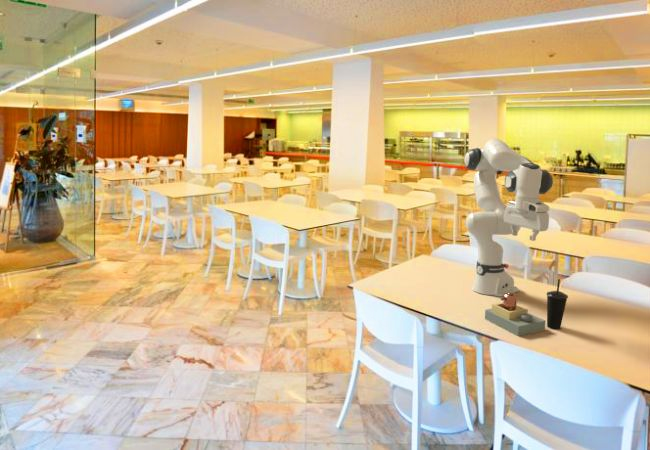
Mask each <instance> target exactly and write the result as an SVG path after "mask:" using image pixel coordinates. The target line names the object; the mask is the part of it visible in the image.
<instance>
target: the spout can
mask: <svg viewBox="0 0 650 450" xmlns="http://www.w3.org/2000/svg"><path fill="white" fill-rule="evenodd" d="M517 300H518V294H516V293H511V292H508V293H504V296H502V297H500V301H502V303H503V308H504V309H506V310H508V311H514V310H516V304H517V302H518V301H517ZM517 305H518V304H517Z"/></svg>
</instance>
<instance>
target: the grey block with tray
mask: <svg viewBox="0 0 650 450" xmlns="http://www.w3.org/2000/svg"><path fill="white" fill-rule="evenodd" d="M484 320H486V321H488V322H489V323H492V324H493V325H496V326H498V327H499V328H502V329H504V330H505V331H506V332H507V331H508V332H510V333H511V334H513V335H515V336H517V337H519V336H525V335H529V334H534V333H539V332H542V331H546V323H547V320H544V319H542V318H540V317H538V316H536V315H534V314H531V313H529V312H528V308H526V307H525V306H522V305H519V304H516V310H514V311H508V310H506V309H504V308H503V302H498V303H494V304H491V308H488V309H485V311H484Z"/></svg>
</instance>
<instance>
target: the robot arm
mask: <svg viewBox="0 0 650 450" xmlns="http://www.w3.org/2000/svg"><path fill="white" fill-rule="evenodd" d="M464 166H465V168H466V170H467V169H468V170H470V171H477V172H475V173H474V176H473V189H474V195H475V201H476V204H477V206H478V208H479V209H481V210H483V211H475V212H472V213H469V214H468V215H467V216H466V219H465V228H466V230H467V232H468V233H470V234H471V235H472V236H473V237H474V239H475V240H476V243H477V247H478V254H477V255H478V258H477V261H476V272H475V277H474V282H473V284H472V288H471V289H472V291H474V292H475V293H478V294H482V295H487V296H495V297H500V298H501V297H504V293H508V292H511V293H514V294H516V293H518V292H520V289H519V287H517V286H515V279H514V278H513V276H511V275H510V274H509V273H508V272H507V271H505V269H508V268H509V264H507V263H503V257H504V256H503V255H504V248H503V246H502V244H500V243H498V242H497V241H494V240H493V236H495V235H496V236H497V235H498V236H507V235H508V236H509V235H512V236H518V233H519V231H520V229H521V228H526V229H529V230H532V231H531V232H532V234H531V235H529V241H532V242H533V241H536V240H537V236H538V235H539V233H540V232H547V230H548V229H549V223H550V215H549V213H548V212H549V211H550V206H549V205H547V204H546V203H544V202H543V201H541V200H540V195H545V194H547V193H548V192H549V191H550V190H551V189H552V188H553V183H554V179H553V176H552V175H551V173H550V172H549V171H548V170H547V169H543V168H541V166H540V165H538V164H537V163H534V162H532V161H531V160H530V159H529V158H527V157H526V156H523V155H522V154H519V153H518V152H516V151H515V150H513V149H512V148H511V147H510V146H509V145H508V144H507V143H506V142H505V141H503V140H502V139H499V138H492V139H489V140H487V142H485V144H484V146H483V148H478V147H476V148H471V149H469V150H468V149H467V151H466V152H465V154H464ZM503 172H507V174H506V175H505V177H504V188H505V189H506V190H507V191H508V192H509V193H512V194H515V197H514V199H515V200H514V201H512V200H511V201H508V202H507V203H506V204H505V203H504V201H503V200H502V198H501V194H500V190H499V188H498V183H497V179H496V175H502V174H503Z"/></svg>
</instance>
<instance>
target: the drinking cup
mask: <svg viewBox="0 0 650 450" xmlns="http://www.w3.org/2000/svg"><path fill="white" fill-rule="evenodd" d="M560 283H561V279H560V278H557V285H556V286H557V287H556V290H552V291H548V292H546V298H547V299H546V305H547V306H546V311H547V312H546V326H547V328H548V329H552V330H560V329H561V327H562V322H563V318H564V315H565V308H566V304H567V300H568V298H569V295H568V294H567V293H565V292H562V291H560Z"/></svg>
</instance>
